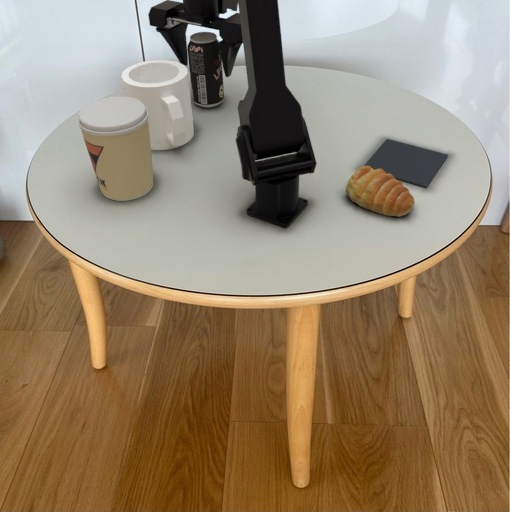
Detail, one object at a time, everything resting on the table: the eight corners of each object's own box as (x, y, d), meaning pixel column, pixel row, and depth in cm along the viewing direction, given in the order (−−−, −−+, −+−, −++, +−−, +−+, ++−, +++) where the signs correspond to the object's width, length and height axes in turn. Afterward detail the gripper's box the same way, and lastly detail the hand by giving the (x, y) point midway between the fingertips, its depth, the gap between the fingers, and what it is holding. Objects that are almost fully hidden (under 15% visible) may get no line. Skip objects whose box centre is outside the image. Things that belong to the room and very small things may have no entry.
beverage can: (218, 93, 107) (214, 28, 99) (228, 106, 103) (224, 39, 95) (189, 98, 105) (182, 33, 97) (198, 112, 101) (191, 44, 93)
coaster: (426, 188, 82) (426, 186, 82) (361, 169, 86) (361, 167, 86) (447, 156, 88) (448, 154, 88) (386, 140, 92) (386, 138, 92)
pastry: (423, 205, 79) (428, 182, 76) (394, 227, 76) (398, 204, 73) (368, 179, 84) (370, 156, 82) (338, 198, 81) (340, 176, 78)
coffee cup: (92, 175, 87) (73, 101, 79) (153, 164, 89) (141, 91, 81) (98, 210, 80) (79, 132, 72) (164, 197, 82) (153, 120, 74)
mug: (214, 147, 92) (209, 84, 85) (155, 166, 88) (145, 101, 81) (178, 114, 101) (170, 54, 94) (123, 130, 97) (111, 69, 90)
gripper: (275, -31, 91) (275, 65, 101) (181, -44, 99) (190, 46, 109) (237, -12, 84) (241, 89, 94) (139, -28, 92) (153, 67, 102)
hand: (206, 71), depth 100 cm, fingers open, 9 cm apart
